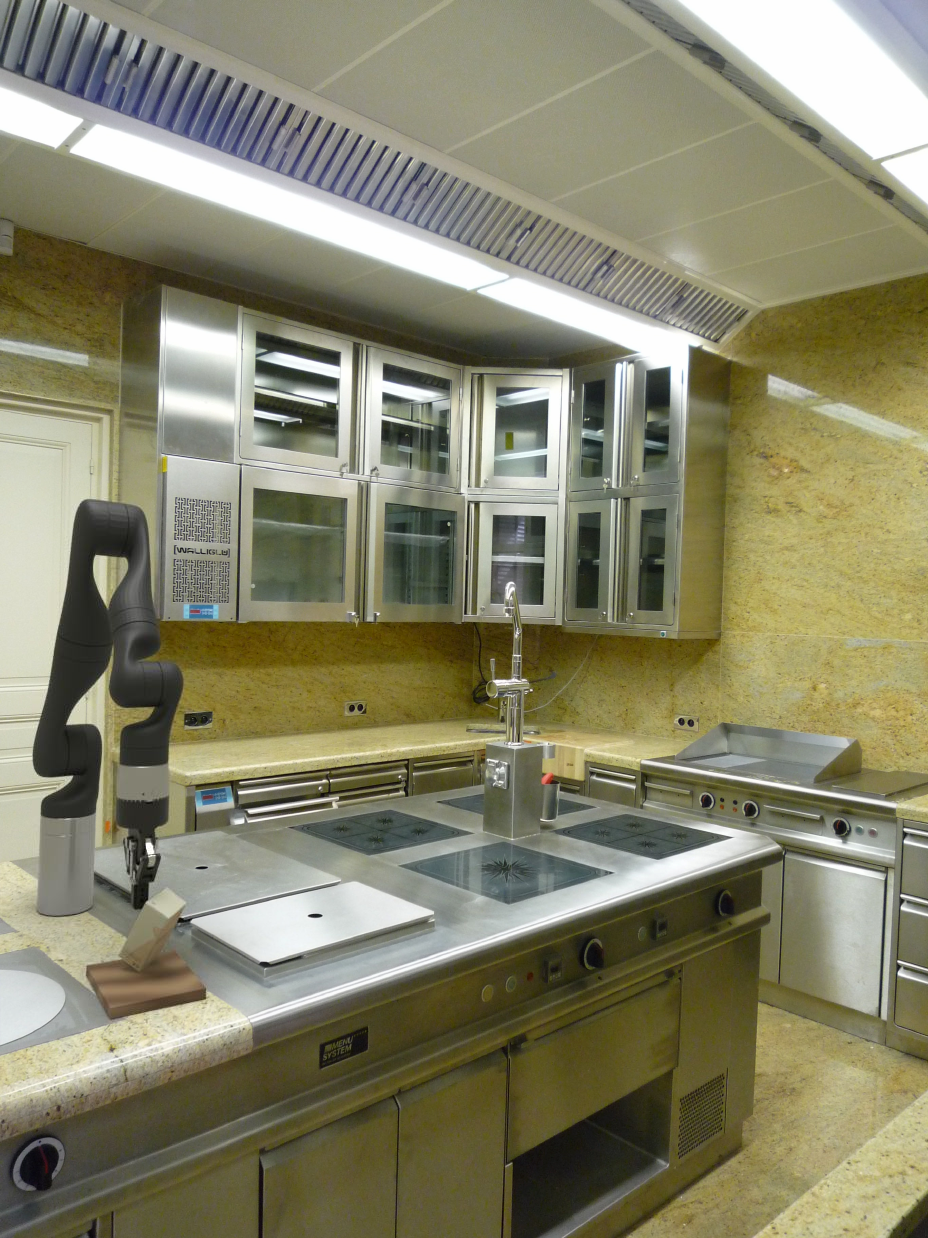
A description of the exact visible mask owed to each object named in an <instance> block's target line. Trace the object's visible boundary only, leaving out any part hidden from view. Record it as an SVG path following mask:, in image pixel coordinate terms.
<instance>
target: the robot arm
mask: <svg viewBox="0 0 928 1238" xmlns="http://www.w3.org/2000/svg"><path fill="white" fill-rule="evenodd" d="M70 542H71V543H70V551H69V552H70V554H69V562H68V573H67V581H66V587H65V593H64V598H63V603H62V608H61V612H60V617H59V623H58V626H57V632H56V635H55V636H56V637H55V642H54V649H53V654H52V662H51V669H50V673H49V674H50V676H49V682H48V685H47V692H46V695H45V700H44V702H43V707H42V711H41V714H40V716H39V717H40V718H39V720H38V721H39V722H38V724H37V725H38V726H37V728H36V732H35V736H34V739H33V740H34V741H33V747H32V765H33V770H34V771H35V773H36V774H37V776H39V777H41V778H48V779H49V778H50V779H51V778H53V779H54V778H63V777H71V776H72V777H71V780H70V781H69V782H68V783H67V784H65V785H64V786H63V787H61V788H59V789H58V790H56V791H55V792H52V793H50V794H48V795H46V796H45V797H44V798H43V799H42V800H41V802H40V820H39V849H38V850H39V853H38V875H37V893H36V894H37V895H36V896H37V897H36V898H37V899H36V912H38V913H39V914H42V915H46V916H70V915H74V914H80V913H83V912H85V911H87V910H89V909H91V908H92V907H93V901H94V900H93V899H94V883H95V882H94V877H95V857H96V855H95V853H96V852H95V850H96V829H97V828H96V824H97V823H96V822H97V803H98V800H99V799H98V798H99V795H100V794H99V793H100V778H101V769H102V760H103V759H102V758H103V740H102V734H101V731H100V730H99V728H98V726H96V724H92V723H77V724H67V723H68V720H69V719H70V717H71V714H72V712H73V710H74V709H75V707H76V706H77V704H78V703H79V702H80V700H81V699H82V698H83V697H84V696H85V695H86V694H87V693H88V692H89V690H90V689H91V688H92V687H93V686H94V685H95V684H96V683H97V682H98V681H99V680H100V678H101V677H102V676H103V675H104V673H105V672H106V670H107V669H108V667H109V664H110V661H111V658H112V657H111V656H113V658H112V667H111V672H110V676H109V683H108V692H109V696H110V698H111V700H112V701H113V702H114V704H115V705H116V706H118V707H120V708H122V709H123V708H125V709H136V708H137V709H139V708H153V710H152V711H151V713H150V715H149V716H148V717H147V718H146V719H143V720H140V721H138V722H134V723H130V724H126V725H125V726H123V727H122V728H121V731H120V735H119V736H120V738H119V759H118V762H119V764H118V771H117V776H116V799H115V803H116V804H115V824H116V826H118V827H119V828H122V829H126V830H127V832H128V833H127V834H128V835H127V836H125V837H124V838H123V840H122V844H123V849H124V858H125V865H126V874H127V875H128V876H129V877H128V878H129V882H130V883H131V886H130V887H131V888H130V889H131V891H130V906H131V908H132V909H134V910H142V909H143V907H144V905H145V903H146V902H147V901H148V900H149V899H150V898H149V893H150V892H149V891H150V884H151V883H154V882H155V879H156V877H157V873H158V871H159V870H158V869H159V867H160V864H161V860H162V855H161V853H157V850H158V848H159V838H158V836H157V837H156V830H157V828H158V827H163V826H165V825H166V824H167V823H168V822H169V819H170V818H169V816H170V815H169V813H170V784H171V782H170V779H171V777H170V767H169V765H170V764H169V756H170V755H169V754H170V737H171V731H172V726H173V724H174V719H175V715H176V712H177V710H178V709H177V708H178V707H179V704H180V700H181V698H182V694H183V691H184V684H185V683H184V676H183V672H182V670H181V668H180V667H179V666H178V664H177V663H175V662H174V661H170V660H145V659H148V658H151V657H153V656H155V654H157V653H158V652H159V651H160V649H161V647H162V646H161V645H162V637H161V632H160V628H159V623H158V619H157V615H156V614H157V613H156V609H155V606H154V605H155V604H154V601H153V600H154V599H153V590H152V588H153V587H152V568H151V567H152V565H151V549H150V548H151V547H150V533H149V524H148V519H147V517H146V514H145V512H144V510H143V509H142V508H141V507H139V506H137V505H134V504H130V503H125V502H124V503H123V502H117V501H110V500H101V499H95V498H94V499H93V498H86V499H83V500H82V501H81V502H80V503H79V504H78V506H77V508H76V512H75V515H74V520H73V525H72V534H71V541H70ZM96 556H99V557H100V556H102V557H109V558H110V557H111V558H120V559H121V558H122V559H123V558H125V559H126V560H127V561H126V562H127V570H126V573H125V575H124V576H123V578H122V580H121V581H120V583H119V584H118V586H117V587H116V589H115V590H114V592H113V594H112V596H111V598H110V601H109V603H108V607H107V605H106V602H105V601H104V599H103V597H102V595H101V593H100V590H99V589H98V585H97V582H96V580H95V576H94V562H95V557H96ZM112 651H113V652H112ZM112 653H113V655H112Z"/></svg>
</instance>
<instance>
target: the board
mask: <svg viewBox="0 0 928 1238" xmlns="http://www.w3.org/2000/svg"><path fill="white" fill-rule="evenodd" d="M85 969H86V970H85V977H86V978H87V981H88V982H89V983H90V986H91V987H92V990H93V991H94V992H95V994H96V996H97V998H98V1000H99V1003H100V1004H101V1005H102V1008H103V1010H104V1011H105V1013H106V1014H107V1016H108V1019H110V1020H113V1019H117V1018H122V1017H127V1016H132V1015H136V1014H140V1013H145V1012H149V1011H150V1010H151V1011H155V1010H159V1008H160V1009H164V1008H163V1007H165V1008H169V1007H173V1005H174V1006H177V1005H182V1004H188V1003H192V1002H193V1003H194V1002H196V1001H202V1000H206V999H207V987H206V986H205V985H204V984H203V982H202V981H201V979H199V978H198V976H197V975H196V974H195V973H194V972H193V970H192V969H191V968H190V967H189V965H187V963H186V962H185V960H183V958H182V957H181V956H180V955H179V953H178V952H177V951H176V950H175V949H171V950H166V951H161V953H160V955H159V956H158V957H157V958H155V959H154V960H153V961H152V962H151V963H150V964H149V965H148V966H147V967H145V968H144V969H143V970H142V971H141V972H139V971H137V970H136V969H135V968H133V967H132V966H131V965H129V964H128V963H127V962H125V961H124V960H123V959H121V958H120V959H115V960H109V961H103V962H99V963H92V964H87V965H86V966H85ZM168 1006H169V1007H168Z"/></svg>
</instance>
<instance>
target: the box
mask: <svg viewBox="0 0 928 1238" xmlns="http://www.w3.org/2000/svg"><path fill="white" fill-rule="evenodd" d="M187 904H188V903H187V902H186V900H184V899H183V898H181V897H180V896H179V895H177V894H176V893H175V892H174V891H172V890H171V889H170V888H168V887H167V886H165V887H163V888H162V889H160V890H159V891H158V892H156V893H155V894H153V896H152V897H150V898H148V901H147V902H146V903H145V905H144V907H143V909H140V910H141V911H140V912H139V915H138V916H137V919H136V920H135V923H134V925H133V926H132V928H131V930H130V932H129V934H128V936H127V939H126V940H125V942H124V944H123V946H122V947H121V950H120V952H119V953H118V957H119V958H120V959H123V960H124V961H125V962H127V963H128V964H129V965H131V966H132V967H133V968H135V969H136V970H137V971H139V972H141V971H142V970H143V969H144V968H145V967H147V966H148V965H149V964H150V963H151V962H152V961H153V960H154V959H155V958H157V957H158V956H159V955H160V953H161V952H163V951H162V950H163V949H164V947H165V945H166V944H167V942H168V940H169V937H170V936H171V934H172V932H173V930H174V928H175V927H176V925H177V922H178V921H179V919H180V917H181V915H182V913H183V911H184V909H185V907H186V905H187Z"/></svg>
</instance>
